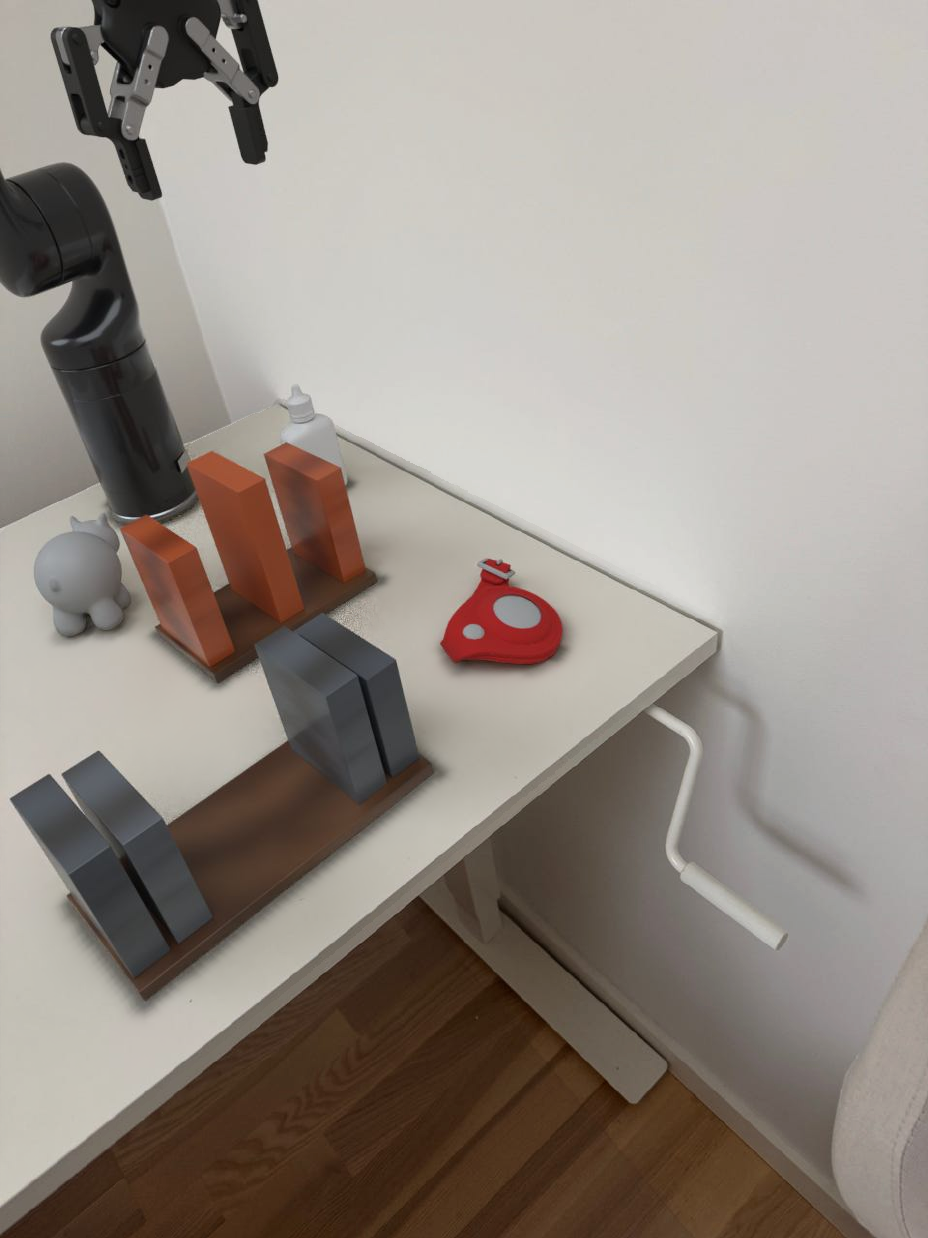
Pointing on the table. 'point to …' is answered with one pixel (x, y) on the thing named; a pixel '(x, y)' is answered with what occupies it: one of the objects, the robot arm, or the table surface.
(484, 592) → the tracker holder
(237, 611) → the orange rack
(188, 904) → the grey rack
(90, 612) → the toy rhinoceros
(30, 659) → the table surface
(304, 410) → the eye dropper bottle
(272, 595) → the orange book
